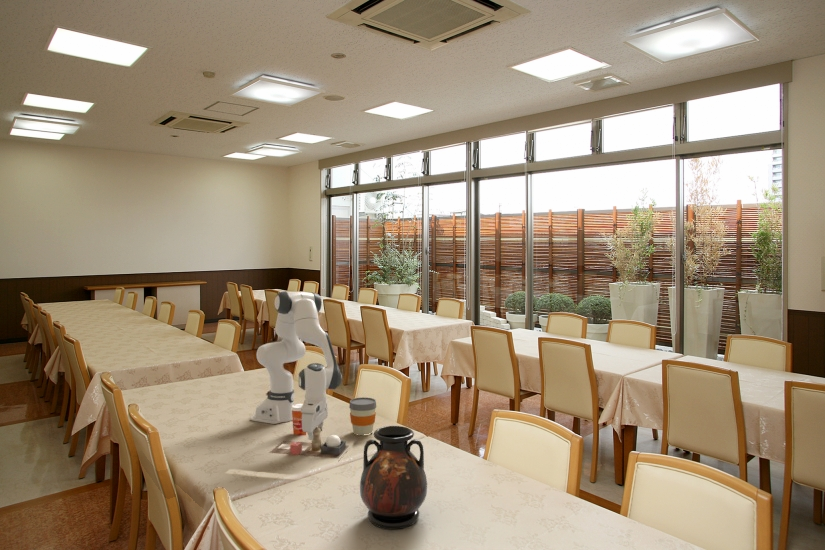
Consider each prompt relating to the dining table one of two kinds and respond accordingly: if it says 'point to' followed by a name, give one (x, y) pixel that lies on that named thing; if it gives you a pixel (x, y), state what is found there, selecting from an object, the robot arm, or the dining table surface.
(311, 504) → the dining table surface
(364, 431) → the reusable coffee cup
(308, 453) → the game board
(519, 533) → the dining table surface
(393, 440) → the amphora vase
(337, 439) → the dome button
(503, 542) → the dining table surface
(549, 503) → the dining table surface
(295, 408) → the paper cup
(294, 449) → the die
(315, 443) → the pawn
